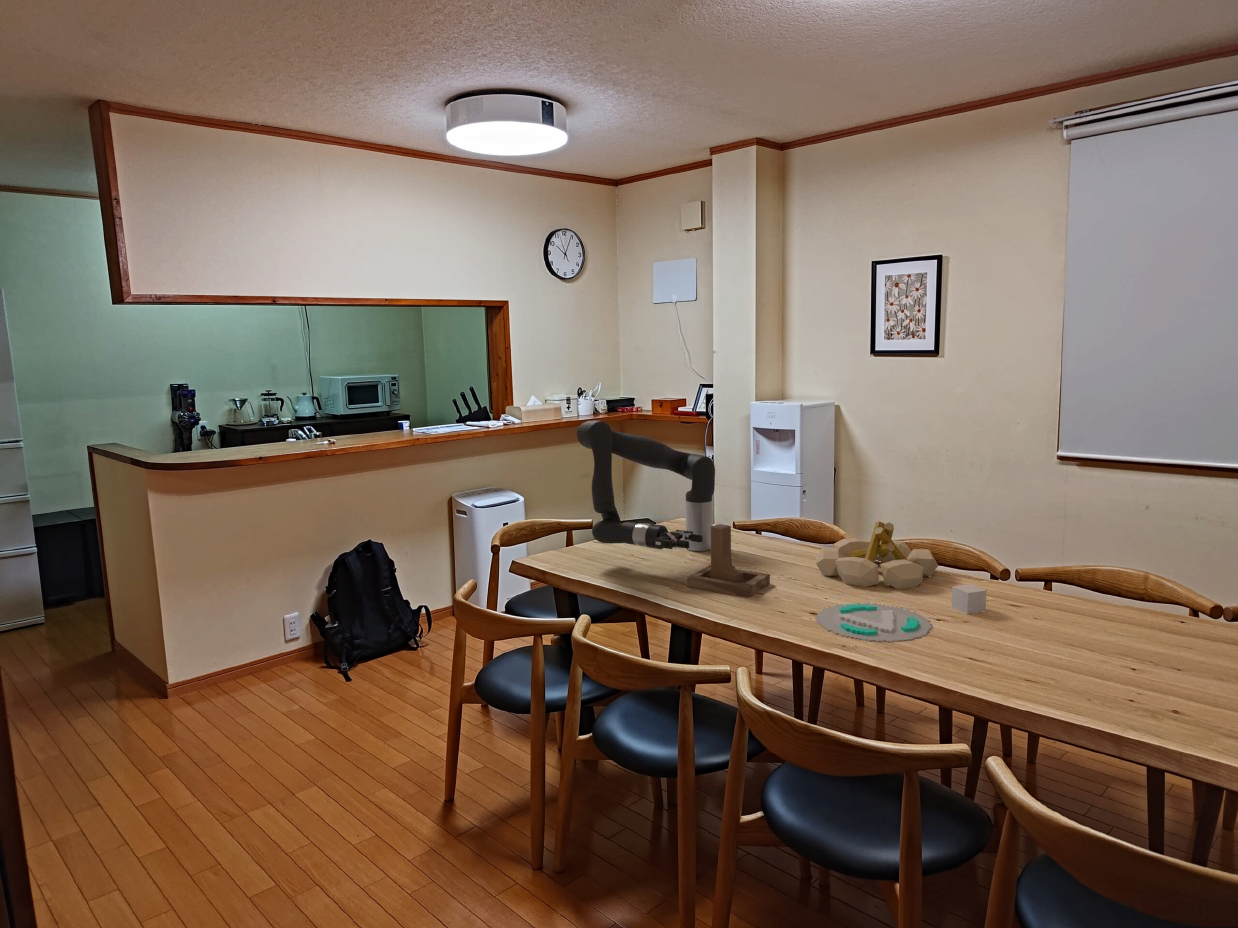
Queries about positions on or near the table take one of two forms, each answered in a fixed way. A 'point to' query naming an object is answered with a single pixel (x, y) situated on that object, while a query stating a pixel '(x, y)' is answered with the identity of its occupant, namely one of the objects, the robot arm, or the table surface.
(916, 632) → the grey flat disc
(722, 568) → the wooden block
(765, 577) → the brown rectangular tray
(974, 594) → the gray cube
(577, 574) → the table surface
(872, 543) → the campfire
